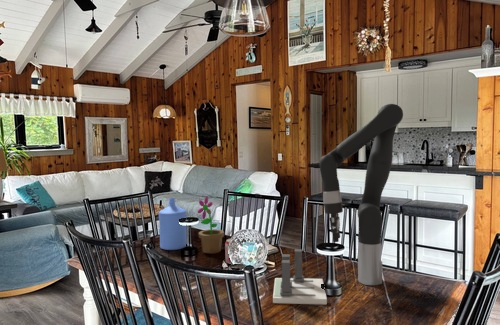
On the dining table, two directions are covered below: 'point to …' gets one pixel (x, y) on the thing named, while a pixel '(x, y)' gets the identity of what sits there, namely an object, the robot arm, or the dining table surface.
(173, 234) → the water jug
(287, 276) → the near lever
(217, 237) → the flowerpot
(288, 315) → the dining table surface
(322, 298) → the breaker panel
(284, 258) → the middle lever
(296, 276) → the lever
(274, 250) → the washcloth
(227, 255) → the soda can
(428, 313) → the dining table surface
